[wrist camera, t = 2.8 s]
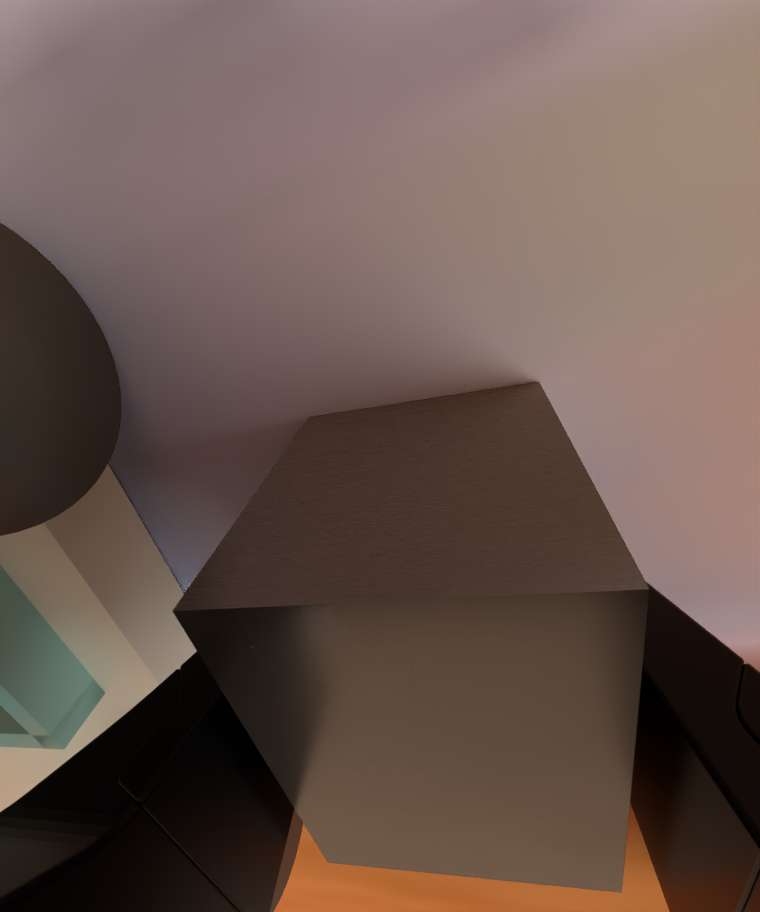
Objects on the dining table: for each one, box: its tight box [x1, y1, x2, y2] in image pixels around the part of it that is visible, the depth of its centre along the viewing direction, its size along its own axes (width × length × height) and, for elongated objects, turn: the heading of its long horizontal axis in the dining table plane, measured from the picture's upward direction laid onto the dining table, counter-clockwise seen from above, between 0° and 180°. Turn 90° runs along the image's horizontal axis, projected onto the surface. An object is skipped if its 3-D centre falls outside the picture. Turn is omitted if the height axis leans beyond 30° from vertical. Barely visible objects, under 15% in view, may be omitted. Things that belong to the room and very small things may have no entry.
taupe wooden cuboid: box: [172, 382, 649, 893], centre depth 7 cm, size 6×4×5 cm
